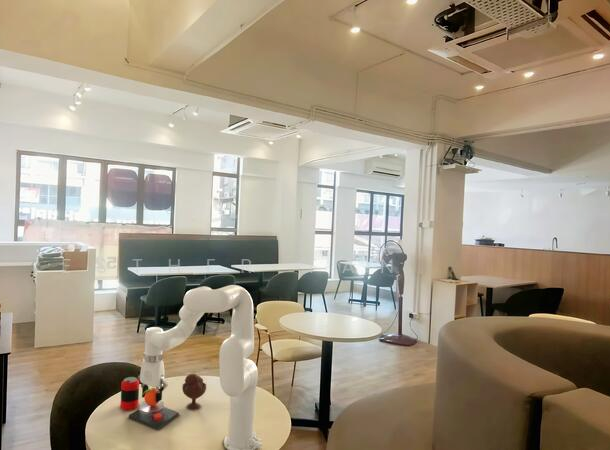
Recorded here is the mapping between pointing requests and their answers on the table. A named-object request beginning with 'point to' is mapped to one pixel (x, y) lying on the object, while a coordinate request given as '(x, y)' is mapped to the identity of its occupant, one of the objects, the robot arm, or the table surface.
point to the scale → (149, 418)
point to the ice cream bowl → (193, 389)
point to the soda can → (129, 393)
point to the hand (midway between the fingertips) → (151, 398)
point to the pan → (150, 407)
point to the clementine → (150, 396)
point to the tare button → (158, 416)
